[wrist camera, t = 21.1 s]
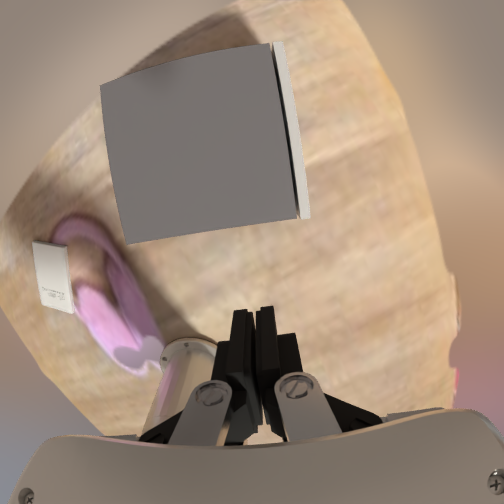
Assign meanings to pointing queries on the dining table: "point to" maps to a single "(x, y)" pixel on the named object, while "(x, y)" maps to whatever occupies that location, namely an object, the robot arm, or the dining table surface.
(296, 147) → the tray
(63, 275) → the external hard drive
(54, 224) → the dining table surface
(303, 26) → the dining table surface
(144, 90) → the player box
